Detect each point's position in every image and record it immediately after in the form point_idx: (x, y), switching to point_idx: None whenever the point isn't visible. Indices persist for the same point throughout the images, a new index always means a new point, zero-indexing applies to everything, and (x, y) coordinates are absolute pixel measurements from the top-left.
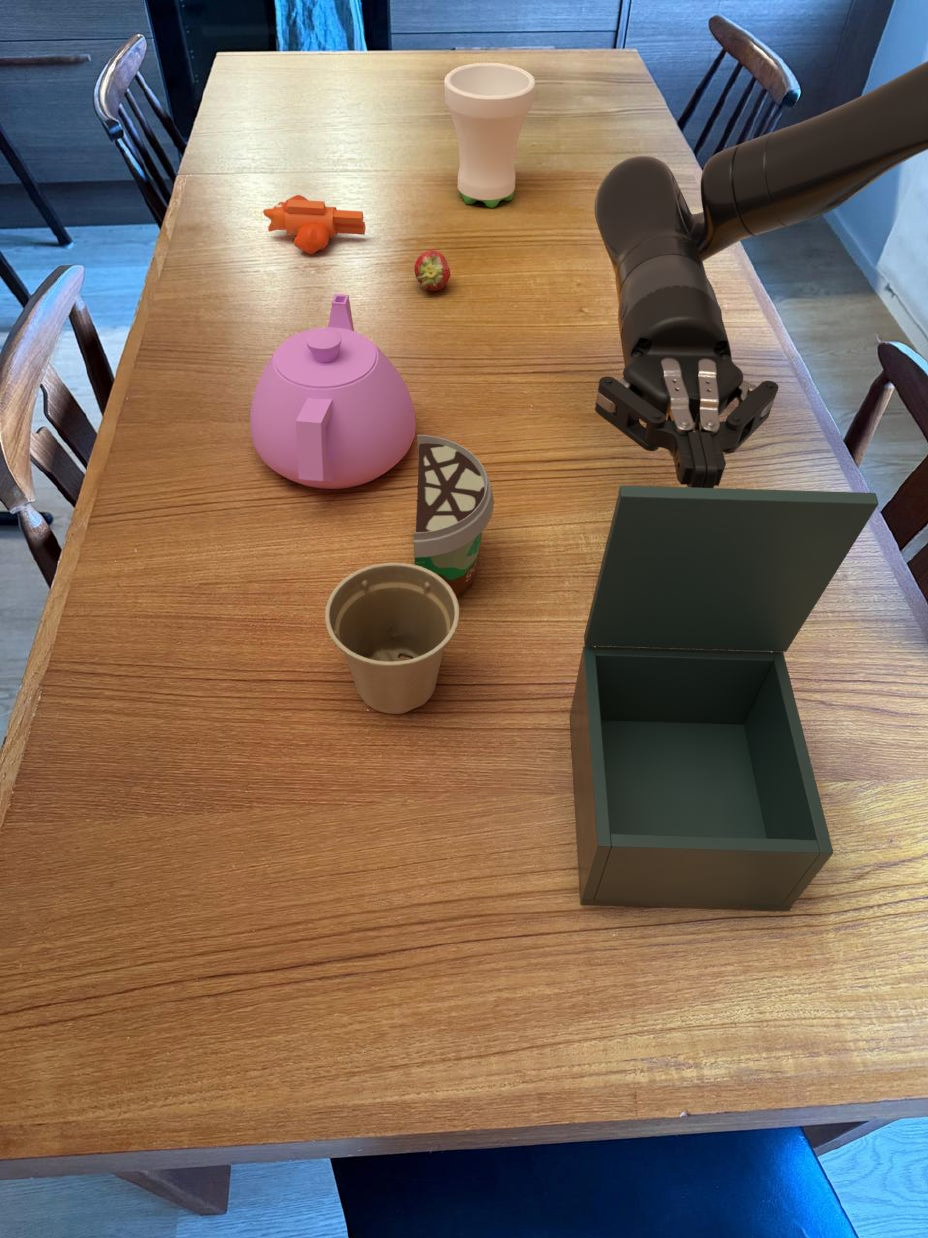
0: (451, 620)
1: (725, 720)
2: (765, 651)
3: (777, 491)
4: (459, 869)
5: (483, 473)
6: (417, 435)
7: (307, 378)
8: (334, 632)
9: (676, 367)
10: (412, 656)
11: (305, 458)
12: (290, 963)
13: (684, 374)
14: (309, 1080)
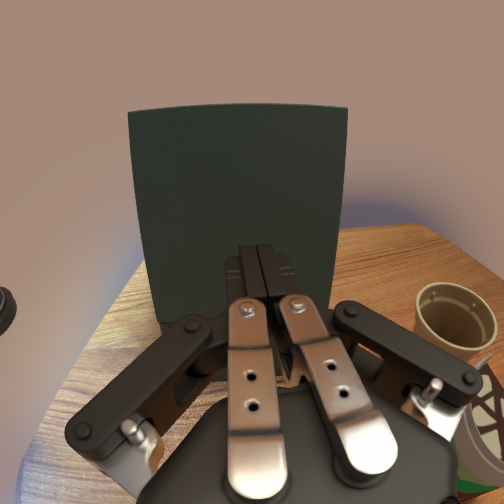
0: (423, 331)
1: None
2: (174, 322)
3: (214, 104)
4: (344, 288)
5: (487, 449)
6: None
7: None
8: (473, 303)
9: (351, 432)
10: None
11: None
12: (388, 255)
13: (315, 470)
14: (361, 235)
